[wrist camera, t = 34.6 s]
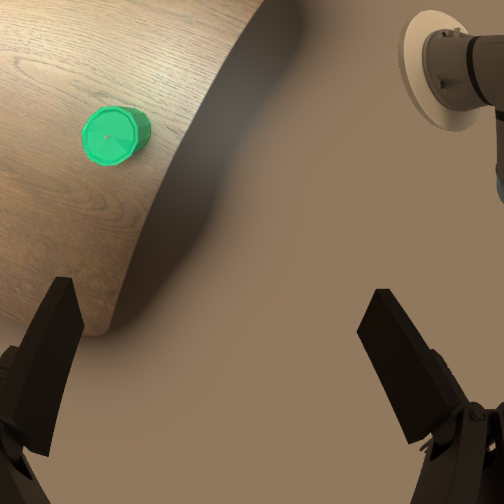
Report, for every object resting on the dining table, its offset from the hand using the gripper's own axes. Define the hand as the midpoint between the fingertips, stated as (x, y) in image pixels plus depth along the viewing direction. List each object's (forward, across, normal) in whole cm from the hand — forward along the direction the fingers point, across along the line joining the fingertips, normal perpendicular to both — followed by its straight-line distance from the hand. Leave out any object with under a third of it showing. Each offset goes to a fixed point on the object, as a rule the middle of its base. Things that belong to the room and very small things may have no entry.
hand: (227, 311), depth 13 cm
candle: (+30, -11, +2) cm, 32 cm away
